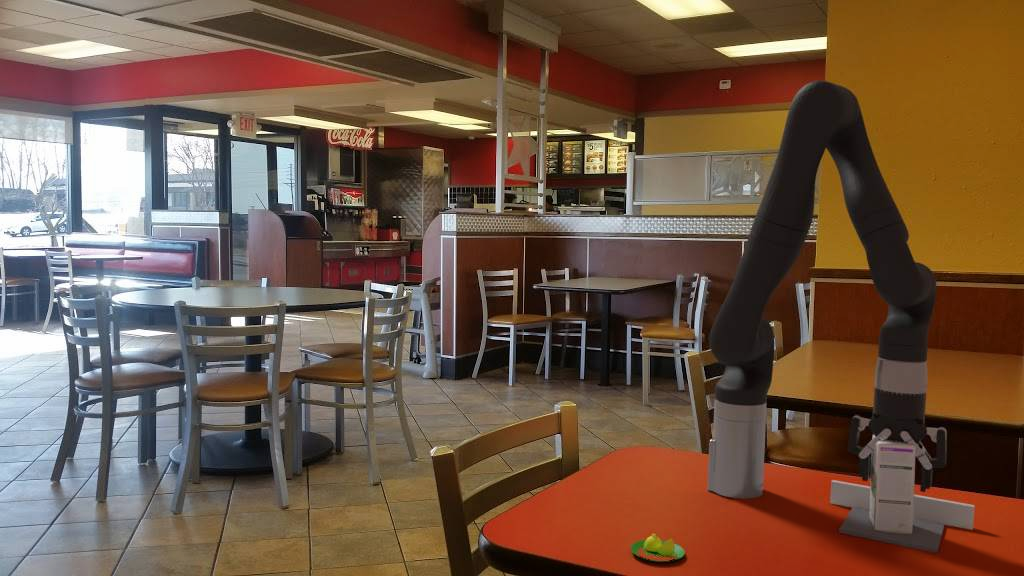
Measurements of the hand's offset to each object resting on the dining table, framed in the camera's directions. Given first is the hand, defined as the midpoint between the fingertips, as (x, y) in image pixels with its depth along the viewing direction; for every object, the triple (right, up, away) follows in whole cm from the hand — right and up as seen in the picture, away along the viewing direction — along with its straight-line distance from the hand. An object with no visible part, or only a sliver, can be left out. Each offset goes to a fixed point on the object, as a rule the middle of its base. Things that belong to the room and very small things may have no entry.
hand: (894, 485), depth 129 cm
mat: (0, -8, +1) cm, 8 cm away
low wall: (+4, -7, +7) cm, 11 cm away
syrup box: (0, -7, +1) cm, 7 cm away
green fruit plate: (-40, -8, -9) cm, 42 cm away
